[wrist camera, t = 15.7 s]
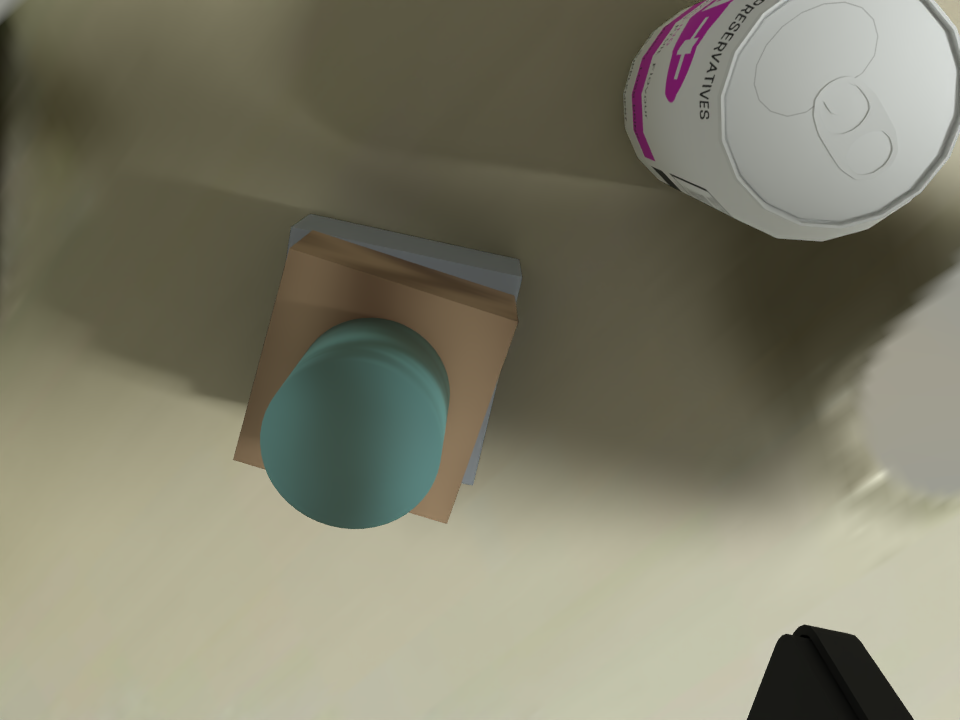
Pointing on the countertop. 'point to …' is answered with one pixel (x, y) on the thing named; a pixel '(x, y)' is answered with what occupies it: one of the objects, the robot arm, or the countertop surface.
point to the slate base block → (433, 255)
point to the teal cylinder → (358, 425)
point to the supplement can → (798, 109)
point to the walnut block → (397, 297)
